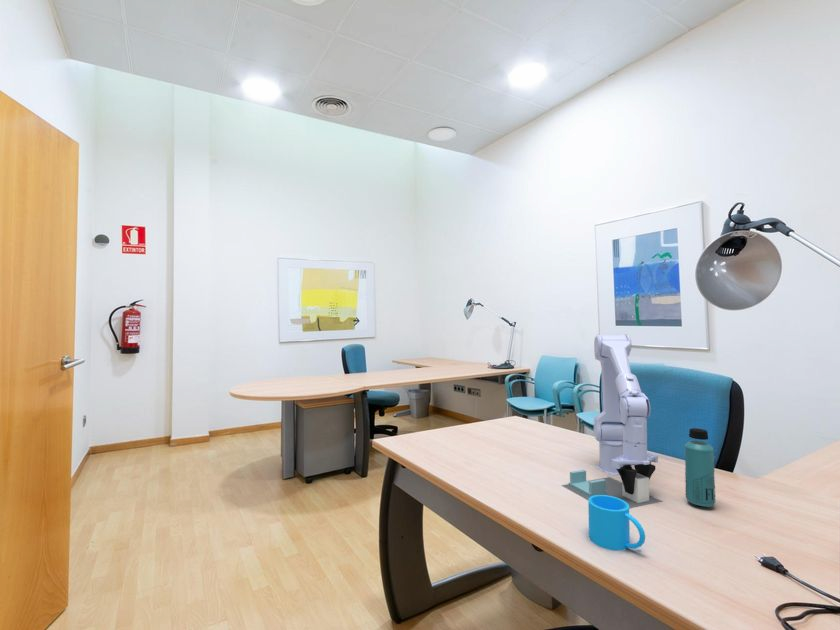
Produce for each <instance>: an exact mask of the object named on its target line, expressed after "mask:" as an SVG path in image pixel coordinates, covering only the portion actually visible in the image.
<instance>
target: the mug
mask: <svg viewBox="0 0 840 630" xmlns="http://www.w3.org/2000/svg"><path fill="white" fill-rule="evenodd" d="M587 501H588V504H587V505H588V506H587V507H588V538H589V540H590V541H591V542H592V543H593V544H594V545H595V546H597V547H600V548H603V549H606V550H610V551H625V550H627V549H637V548H640V547H642V546H643V545H644V544H645V542H646V533H645V530H644V528H643V526H642V524H641V523H640V522H639V520H637V519H636V518H635V517H634V516H633V515H631V514H630V508H629V505H628V503H626V502H625V501H624V500H621V499H619V498H616V497H613V496H607V495H595V496H591V497H590V498H589V500H587ZM630 521H631V522H632V523H633V525H634V526H635V527H636V528H637V531H638V534H639V538H638V539H639V540H638V541H637V542H635V543H631V540H630V538H631V536H630V534H631V533H630V530H631V529H630Z"/></svg>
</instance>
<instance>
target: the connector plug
mask: <svg viewBox="0 0 840 630" xmlns="http://www.w3.org/2000/svg"><path fill="white" fill-rule="evenodd" d="M621 483H622V495H623V496H625V497H627V498H629V499H631V500H633V501H635V502H637V503H641V502H646V501H649V495H650V480H649V478H648V477H646V476H643V475H641V474H638V473H637V474H636V477H635V481H634V493H633V494H629V493H627V492H625V489H624V485H623V482H622V481H621Z"/></svg>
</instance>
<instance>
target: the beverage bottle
mask: <svg viewBox="0 0 840 630" xmlns="http://www.w3.org/2000/svg"><path fill="white" fill-rule="evenodd" d="M688 430H689V432H688V437H689V438H690V439H694V440H689V441H688V442H686V443H685V444H684V455H685V456H684V462H685V465H684V467H685V468H684V471H685V472H684V476H685V477H684V479H685V484H684V486H685V487H684V490H685V498H686V500H687V501H688V502H689V503H691V504H693V505H696V506H701V507H707V508H711V507H714V506H715V505H716V501H717V500H716V492H717V491H716V481H715V478H716V477H715V461H714V457H715V456H714V452H715V451H714V450H715V449H714V447H713V446H712V445H711V444H709V443H708V442H705V440H708V439H709V435H708V434H709V433H708V430H706V429H703V428H696V427H695V428H694V427H693V428H689V429H688ZM700 440H701V441H700ZM702 440H704V441H702Z"/></svg>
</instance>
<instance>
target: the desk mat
mask: <svg viewBox="0 0 840 630" xmlns="http://www.w3.org/2000/svg"><path fill="white" fill-rule="evenodd" d="M600 479H604V480H606V490H607V491H608V494H604V495H607V496H613V497H616V498H619V499H621V500H624V501H625V502H626V503H628V505H629V509H633V508H639V507H644V506H647V505H653V504H657V503H662V502H663V500H661V499H658V498H657V497H655V496H652V495H650V494H649V501H646V502H641V503H637V502H635V501H633V500H631V499H629V498H627V497H625V496H623V495H622V481H619V480H617V479H614V478H612V477H610V476H607V477H603V478H596V479H591V480H589V481H594V480H600ZM561 486H562V487H563V488H565V489H566V490H569V491H570V492H572V493H574V494H576V495H578V496H580V497H581V498H583V499H585V500H586V501H588V500H589V498H590V497H589V496H587V495H586V494H584V493H582V492H580V491H578V490H576V489H575V488H573V487H571V486H569V483H567V484H562V485H561Z"/></svg>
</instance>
